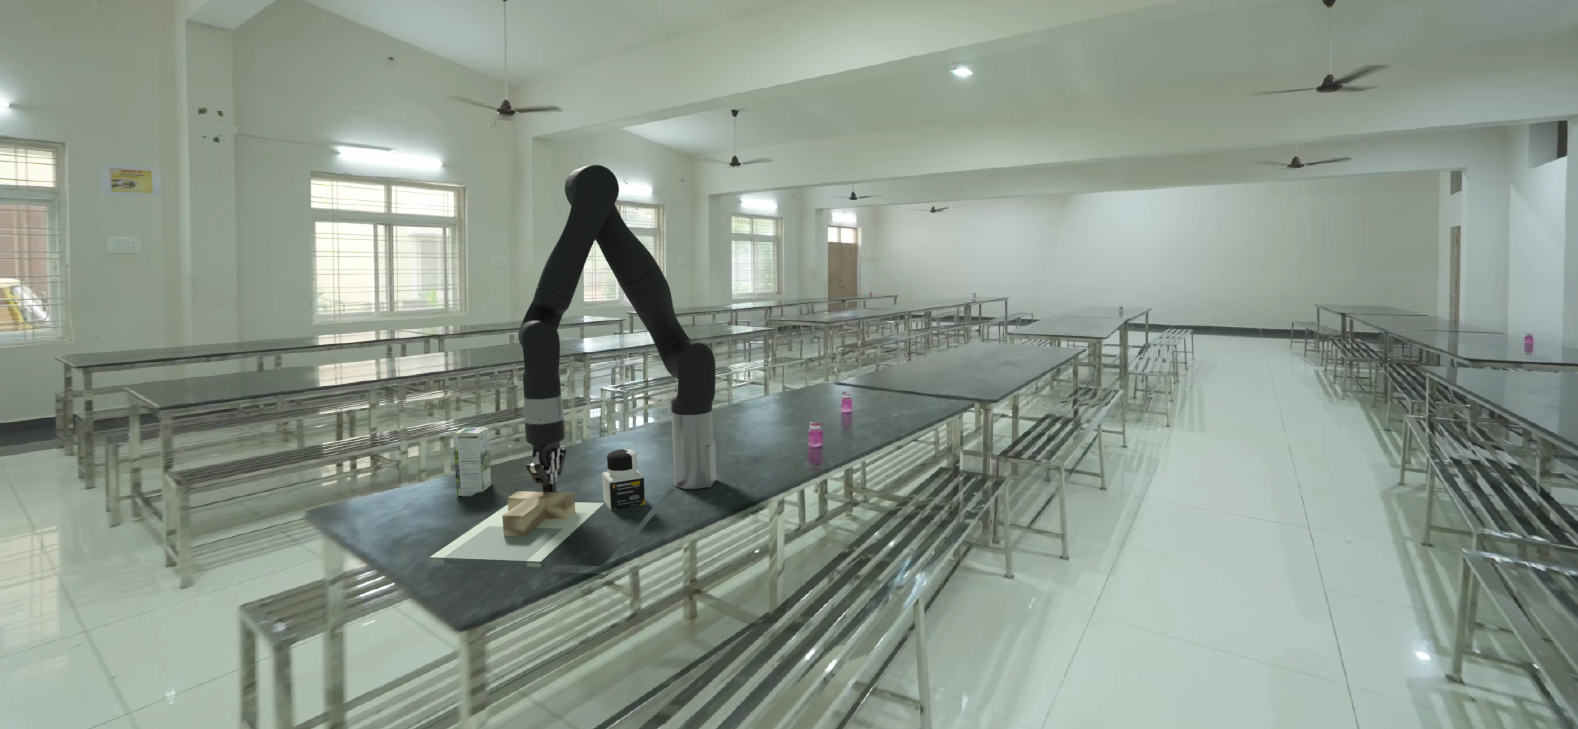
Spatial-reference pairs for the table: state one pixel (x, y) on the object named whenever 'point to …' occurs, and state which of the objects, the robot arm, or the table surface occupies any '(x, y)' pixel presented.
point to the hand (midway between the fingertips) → (550, 499)
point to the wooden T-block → (535, 510)
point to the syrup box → (472, 460)
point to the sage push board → (513, 540)
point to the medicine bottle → (623, 480)
